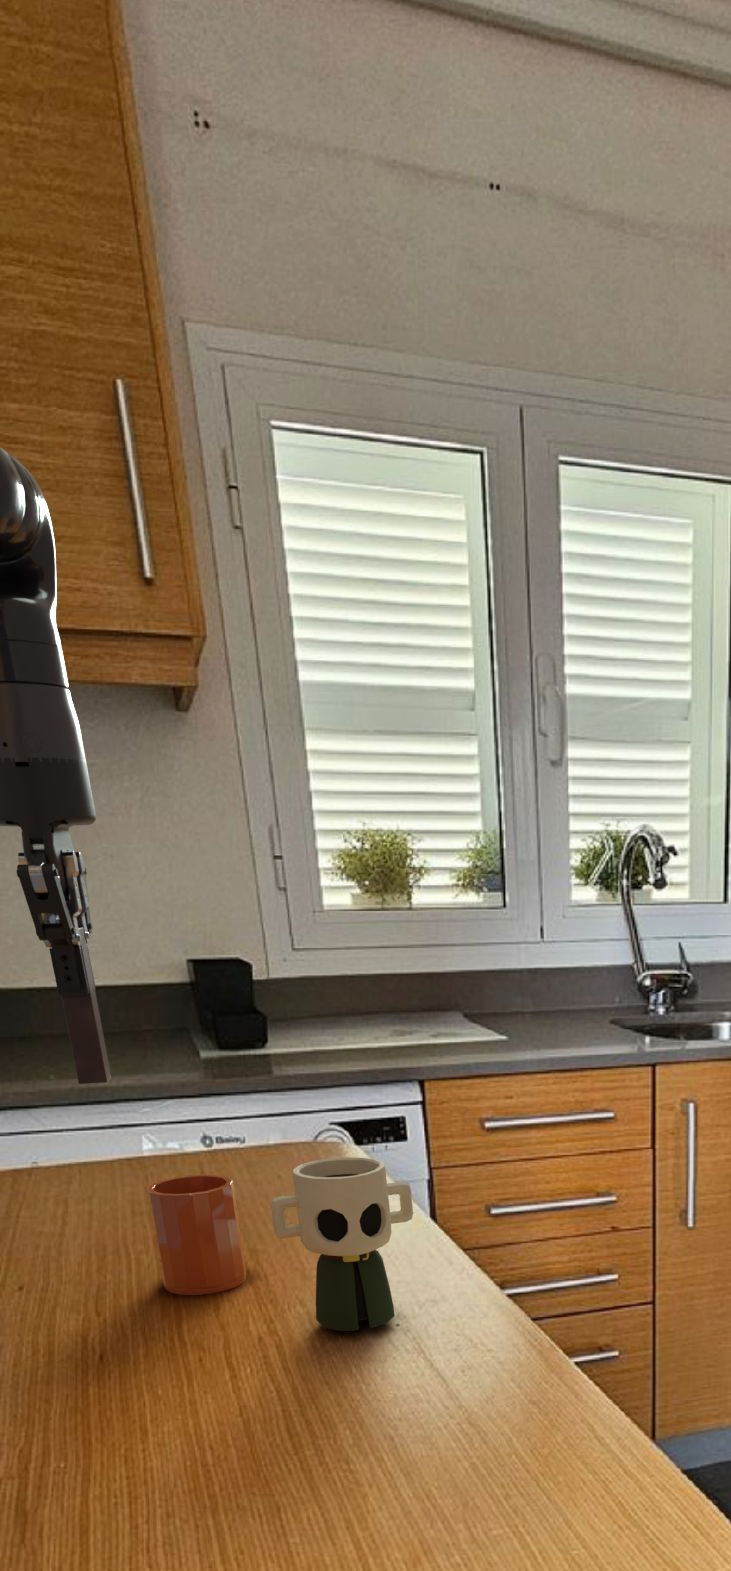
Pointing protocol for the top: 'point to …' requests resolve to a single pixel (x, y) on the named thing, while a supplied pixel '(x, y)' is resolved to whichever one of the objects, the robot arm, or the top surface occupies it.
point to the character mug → (345, 1235)
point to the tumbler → (197, 1234)
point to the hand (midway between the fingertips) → (77, 993)
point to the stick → (87, 1030)
